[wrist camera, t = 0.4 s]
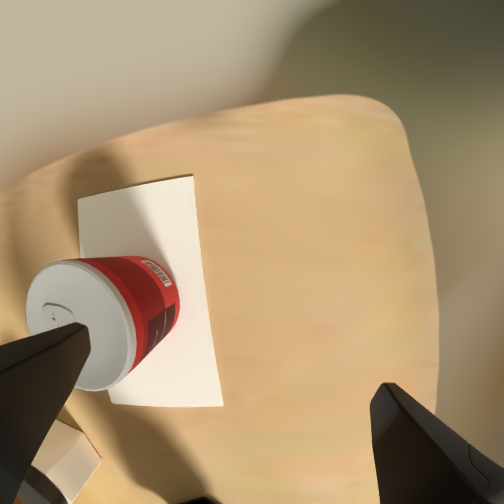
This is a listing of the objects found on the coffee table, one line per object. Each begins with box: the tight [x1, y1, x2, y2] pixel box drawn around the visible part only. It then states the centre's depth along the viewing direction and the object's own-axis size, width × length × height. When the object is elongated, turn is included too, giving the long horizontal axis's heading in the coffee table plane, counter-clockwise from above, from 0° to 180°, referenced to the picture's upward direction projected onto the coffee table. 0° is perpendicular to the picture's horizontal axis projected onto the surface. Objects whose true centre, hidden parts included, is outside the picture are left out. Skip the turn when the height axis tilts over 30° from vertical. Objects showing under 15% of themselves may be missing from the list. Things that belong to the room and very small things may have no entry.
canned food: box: [25, 256, 180, 391], centre depth 18 cm, size 8×8×11 cm
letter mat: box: [78, 176, 224, 407], centre depth 24 cm, size 21×12×1 cm, turn 7°
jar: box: [17, 419, 102, 504], centre depth 19 cm, size 9×8×12 cm
